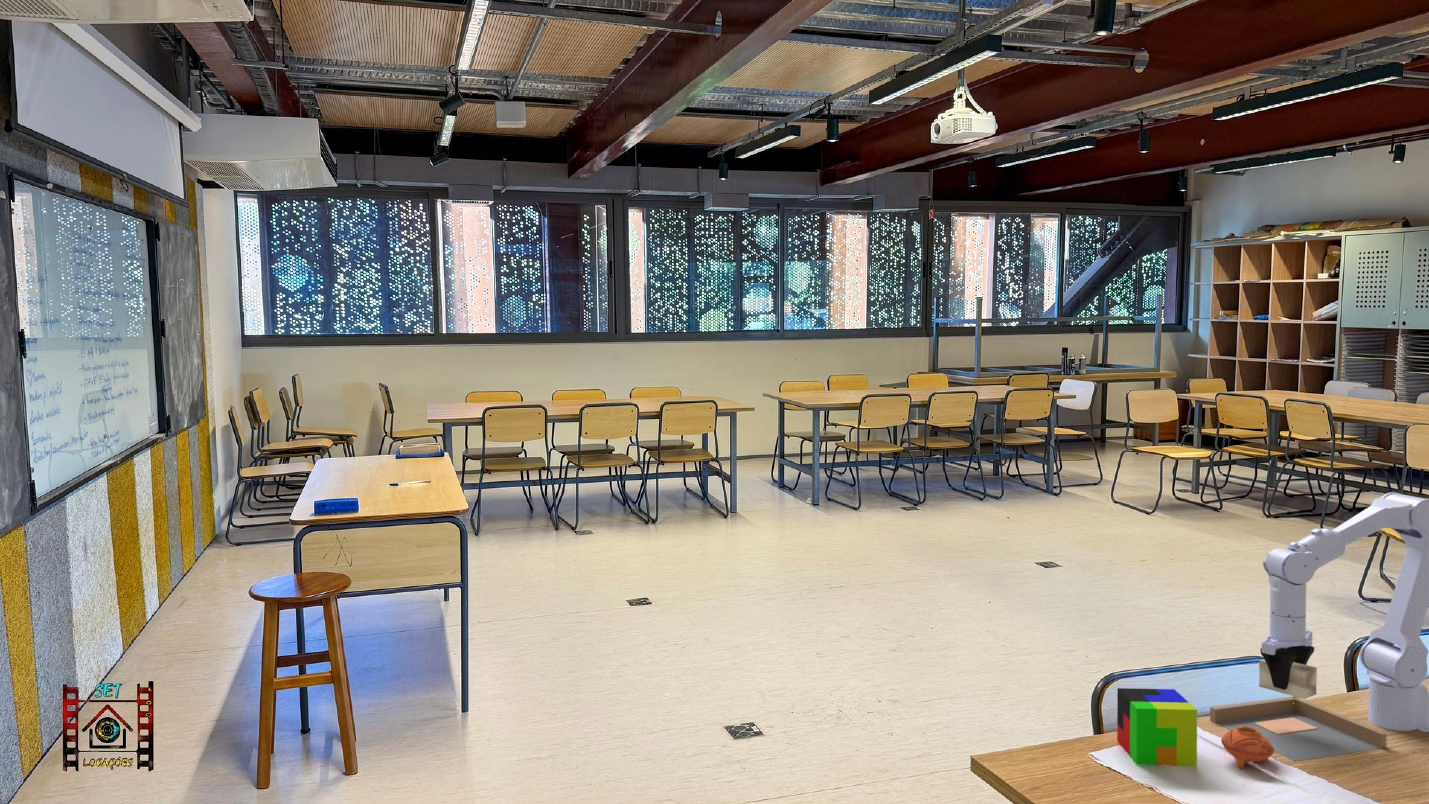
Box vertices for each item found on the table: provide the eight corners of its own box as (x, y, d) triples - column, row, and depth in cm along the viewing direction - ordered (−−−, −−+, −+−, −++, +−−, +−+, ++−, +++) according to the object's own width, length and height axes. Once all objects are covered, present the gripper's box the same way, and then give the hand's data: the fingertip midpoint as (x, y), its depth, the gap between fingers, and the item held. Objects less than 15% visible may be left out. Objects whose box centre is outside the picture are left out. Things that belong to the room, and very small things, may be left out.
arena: (1294, 712, 183) (1294, 696, 183) (1386, 751, 164) (1386, 733, 164) (1210, 724, 178) (1210, 707, 178) (1294, 765, 159) (1295, 746, 159)
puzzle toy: (1173, 743, 170) (1174, 689, 169) (1196, 766, 160) (1197, 709, 159) (1117, 741, 171) (1117, 688, 170) (1136, 765, 161) (1136, 708, 160)
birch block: (1271, 681, 178) (1271, 656, 178) (1316, 694, 171) (1316, 667, 171) (1259, 686, 176) (1259, 660, 176) (1304, 699, 169) (1304, 672, 169)
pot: (1207, 756, 163) (1214, 717, 164) (1243, 761, 165) (1249, 723, 165) (1244, 773, 155) (1251, 733, 156) (1281, 779, 157) (1288, 739, 158)
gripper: (1290, 624, 166) (1289, 699, 166) (1330, 612, 174) (1329, 683, 174) (1250, 616, 172) (1249, 688, 172) (1290, 604, 180) (1289, 673, 180)
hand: (1286, 685), depth 174 cm, fingers closed on birch block, 4 cm apart
